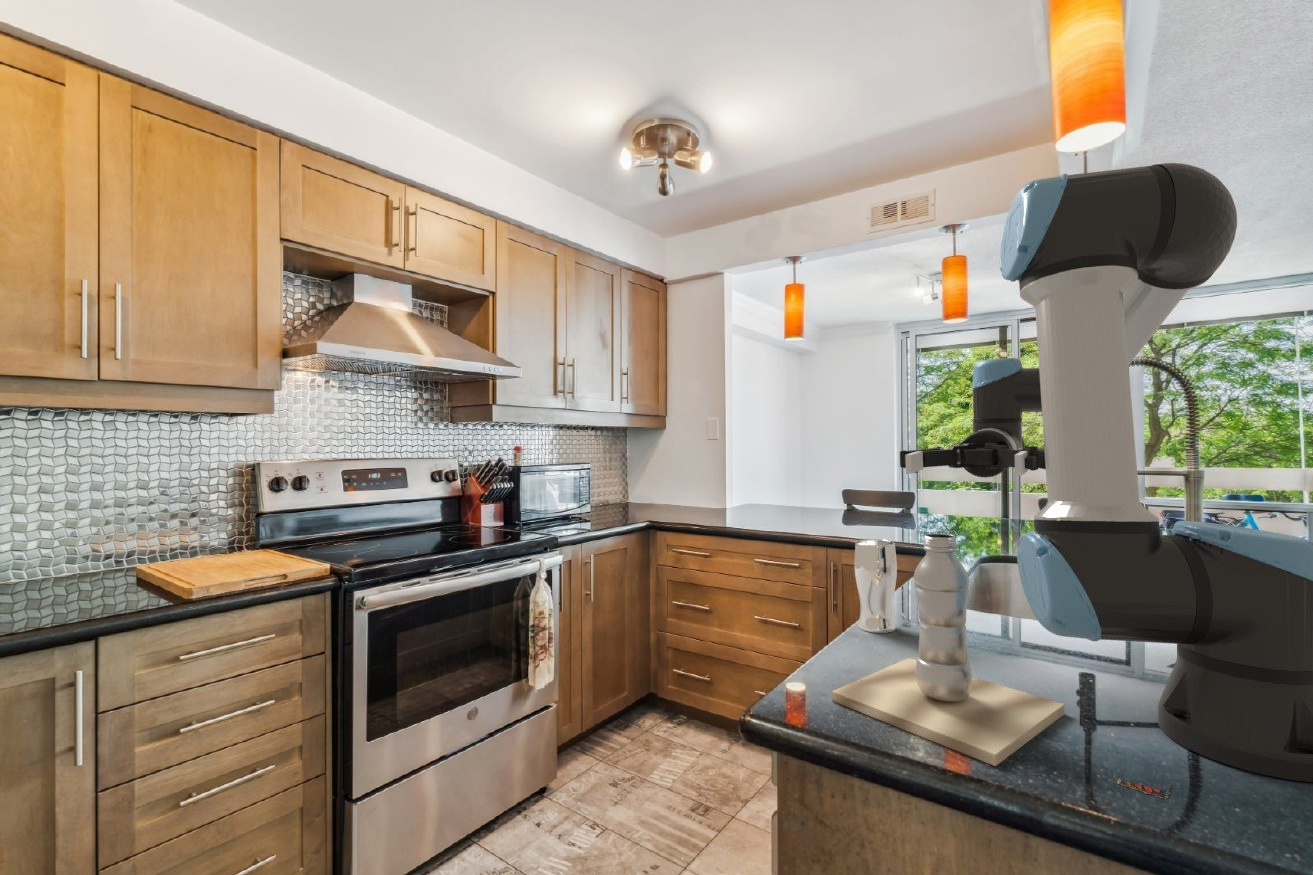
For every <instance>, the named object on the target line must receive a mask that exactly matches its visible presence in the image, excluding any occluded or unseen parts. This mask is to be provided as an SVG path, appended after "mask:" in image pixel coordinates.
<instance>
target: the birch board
mask: <svg viewBox="0 0 1313 875" xmlns="http://www.w3.org/2000/svg"><path fill="white" fill-rule="evenodd" d="M916 662H917V659H914V658H911V657H908V658H906V659H903V660H901V661H898V662H895V663H893V664H892V665H889V666H887V667H885V668H882V669H880V670H878V671H876V672H873V673H870V674H869V675H866V676H864V677H862V678H860V679H857V680H855V681H853V682H851V683H847V684H846V685H843V686H840V687H839V688H836V689H834V690H832V691H831V702H833V703H836V704H839V705H842V706H844V707H847V708H850V709H851V710H854V711H857V712H859V713H862V714H864V715H867V716H870V717H871V718H874V719H877V720H879V721H880V722H881V721H882V722H883V723H887V724H889V725H892V726H894V727H896V728H899V729H902V730H904V731H906V732H909V733H912V734H914V735H916V736H919V737H921V738H924V739H926V740H929V741H931V742H934V743H935V744H936V743H937V744H938V745H942V746H943V747H946V748H949V749H952V750H954V751H957V752H958V753H961V754H963V755H966V756H969V757H971V758H973V759H976V760H978V761H981V762H983V763H986V764H988V765H991V766H994V767H997V766H998V765H999V764H1001V763H1002V762H1004V760H1006V759H1007V758H1008V757H1009V756H1011V755H1012V754H1014V753H1015V752H1016V751H1018V750H1019V749H1021V747H1023V746H1024V745H1026V744H1027V743H1028V742H1030V741H1031V740H1032V739H1034V738H1035V737H1036V736H1038V735H1039V734H1040V733H1042V732H1043V731H1044V730H1046V729H1047V728H1049V727H1050V726H1051V725H1052V724H1054V723H1055V722H1056V721H1058V720H1059V719H1060V718H1062V717H1063V716H1065V703H1062V702H1059V701H1055V700H1052V699H1048V698H1045V697H1041V696H1039V695H1035V694H1031V693H1029V692H1024V691H1020V690H1018V689H1014V688H1011V687H1009V686H1005V685H1002V684H998V683H996V682H995V683H994V682H991V681H987V680H985V679H980V678H977V677H974V676H972V679H973V682H972V689H971V693H970V694H969V696H968V697H967V698H966V699H965V700H963V701H958V702H947V701H940V700H936V699H933V698H930V697H928V696H926V695H925V694H923V693H922V691H921V690H920V688H919V687H918V685H917V680H916V674H915V671H916Z"/></svg>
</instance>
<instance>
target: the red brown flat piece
mask: <svg viewBox="0 0 1313 875" xmlns="http://www.w3.org/2000/svg"><path fill="white" fill-rule="evenodd" d="M1160 778H1163V776H1160ZM1116 784H1118V785H1121V786H1124V787H1125V788H1127V787H1128V788H1130V789H1132V790H1137V791H1140V792H1142V793H1144V794H1149V795H1151V796H1155V797H1158V798H1160V799H1164V800H1167V799H1169V797H1170V796H1169V795H1170V794H1171V793H1170V789H1171V788H1172V784H1169V787H1167V789H1166V790H1163V789H1157V788H1154V787H1149V786H1145V785H1141V784H1137V783H1133V782H1129V781H1125V780H1121V778H1118V780H1116Z"/></svg>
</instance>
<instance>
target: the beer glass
mask: <svg viewBox="0 0 1313 875" xmlns="http://www.w3.org/2000/svg"><path fill="white" fill-rule="evenodd" d="M854 543H855V545H854V546H855V547H854V548H855V549H854V576H855V582H856V587H857V592H858V597H859V602H860V614H859V620H858V628H859V629H860V630H862V631H865V632H868V633H874V634H889V633H888V632H890V633H893V632H895V631H896V624H895V620H894V615H893V614H894V613H893V606H894V605H893V602H894V596H895V592H896V583H897V575H898V572H897V571H898V564H897V553H896V552H897V551H896V543H895V542H894V541H892V540H889V539H887V540H886V539H877V538H867V539H866V538H865V539H858V540H856V541H855V542H854Z"/></svg>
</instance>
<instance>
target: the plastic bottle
mask: <svg viewBox="0 0 1313 875" xmlns="http://www.w3.org/2000/svg"><path fill="white" fill-rule="evenodd" d="M956 537H957V536H956V535H954V534H947V533H927V534H924V538H923V539H924V540H923V542H924V543H923V544H924V545H923V551H925V555H924V556H923V558H922V559H921V560H920V561H919V563H918V565H917V566H916V568H915V570H914V573H913V584H914V590H915V591H914V592H915V596H916V603H917V610H918V620H919V621H918V622H919V624H918V625H919V636H918V637H919V638H918V640H919V641H918V655H917V658H916V660H917V662H916V671H915V674H916V680H917V685H918V687H919V688H920V690H921V691H922V693H923V694H925V695H926V696H928V697H930V698H933V699H936V700H940V701H947V702H958V701H963V700H965V699H966V698H967V697H968V696H969V694H970V693H971V689H972V682H973V679H972V677H973V674H972V673H973V672H972V669H971V665H970V664H971V663H970V661H969V653H968V644H967V635H966V633H967V631H966V630H967V629H966V628H967V625H966V623H967V607H968V599H969V591H970V582H971V581H970V578H969V574H968V572H967V570H966V569H965V567H964V566H963V564H962V563H961V562H960V561H959V559H958V558H957V556H956V552H958V547H957V538H956Z"/></svg>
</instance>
